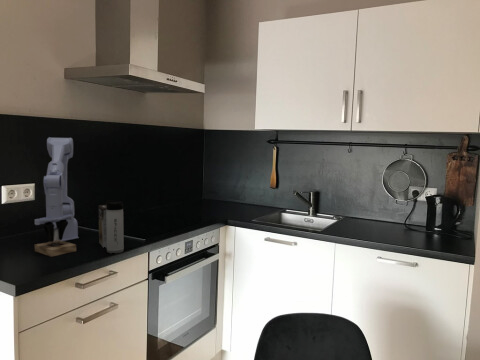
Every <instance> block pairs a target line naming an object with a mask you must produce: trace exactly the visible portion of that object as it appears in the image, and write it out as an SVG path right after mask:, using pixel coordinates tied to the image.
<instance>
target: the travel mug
mask: <svg viewBox="0 0 480 360" xmlns="http://www.w3.org/2000/svg"><path fill="white" fill-rule="evenodd" d="M105 205H106V207H107V208H106V227H107V247H106V252H107V253H108V254H112V253H115V254H121V253H123V252H124V249H125V247H124V245H125V244H124V234H125V233H124V203H123V202H122V201H121V200H111V199H107V200H105Z"/></svg>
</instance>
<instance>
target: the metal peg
mask: <svg viewBox="0 0 480 360" xmlns="http://www.w3.org/2000/svg"><path fill="white" fill-rule="evenodd" d="M56 246H60V231H59V228H54V230H53V242H51V247H56Z"/></svg>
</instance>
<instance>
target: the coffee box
mask: <svg viewBox="0 0 480 360" xmlns="http://www.w3.org/2000/svg"><path fill="white" fill-rule="evenodd" d="M106 208H107V207H106V204H100V205H98V238H99V239H98V241H99V242H98V243H99V244H100V245H101V247H102V248H104V247H105V248H107V227H106Z"/></svg>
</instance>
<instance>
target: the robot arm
mask: <svg viewBox="0 0 480 360" xmlns="http://www.w3.org/2000/svg"><path fill="white" fill-rule="evenodd" d="M46 148H47V152H48V155H49V157H50V158H51V161H50V162H48V163H47V164H48V165H47V169H46V175H44V176H43V188H44V195H45V209H46V210H45V213H46V214H45V215H46V216H45V217H40V218H36V219H34V225H35V226H41V227H42V229H43V230H44V232H45V234H46V237H47V240H48V242H53V230H54V228H59V231H60V240H61V241H65V242H67V241H70V240H75V239H79V238H80V237H79V236H78V235H79V229H78V225H79V224H78V220H77V219H76V218H75V201H74V200H73V199H72V198H71V197H69V196H68V162H69V160H70V159H71V158H73V155H74V140H73V138H72V137H50V136H49V137H48V138H47V139H46Z"/></svg>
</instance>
